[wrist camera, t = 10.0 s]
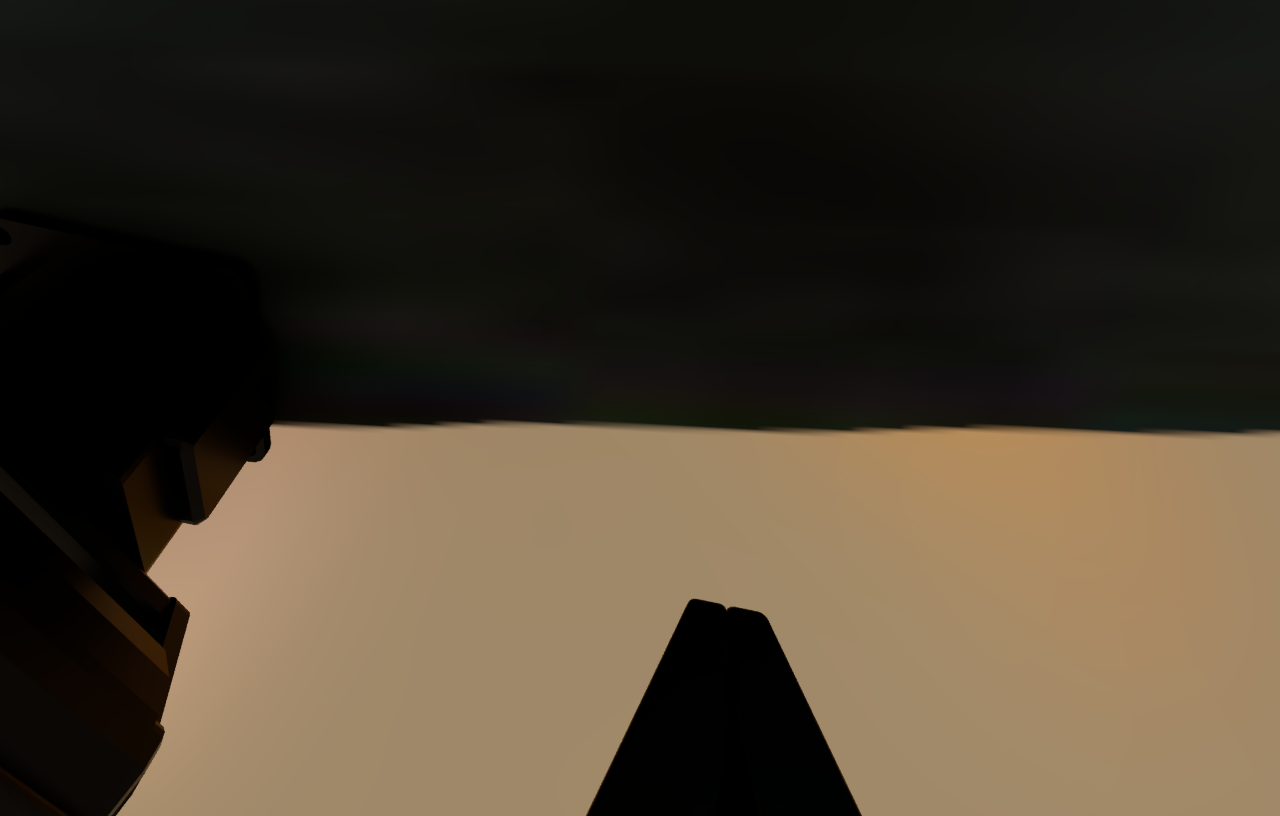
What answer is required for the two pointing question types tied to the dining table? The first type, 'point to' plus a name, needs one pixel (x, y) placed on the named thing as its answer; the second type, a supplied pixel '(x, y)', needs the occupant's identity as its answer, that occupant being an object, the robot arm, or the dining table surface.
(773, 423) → the dining table surface
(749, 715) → the robot arm
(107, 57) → the dining table surface
